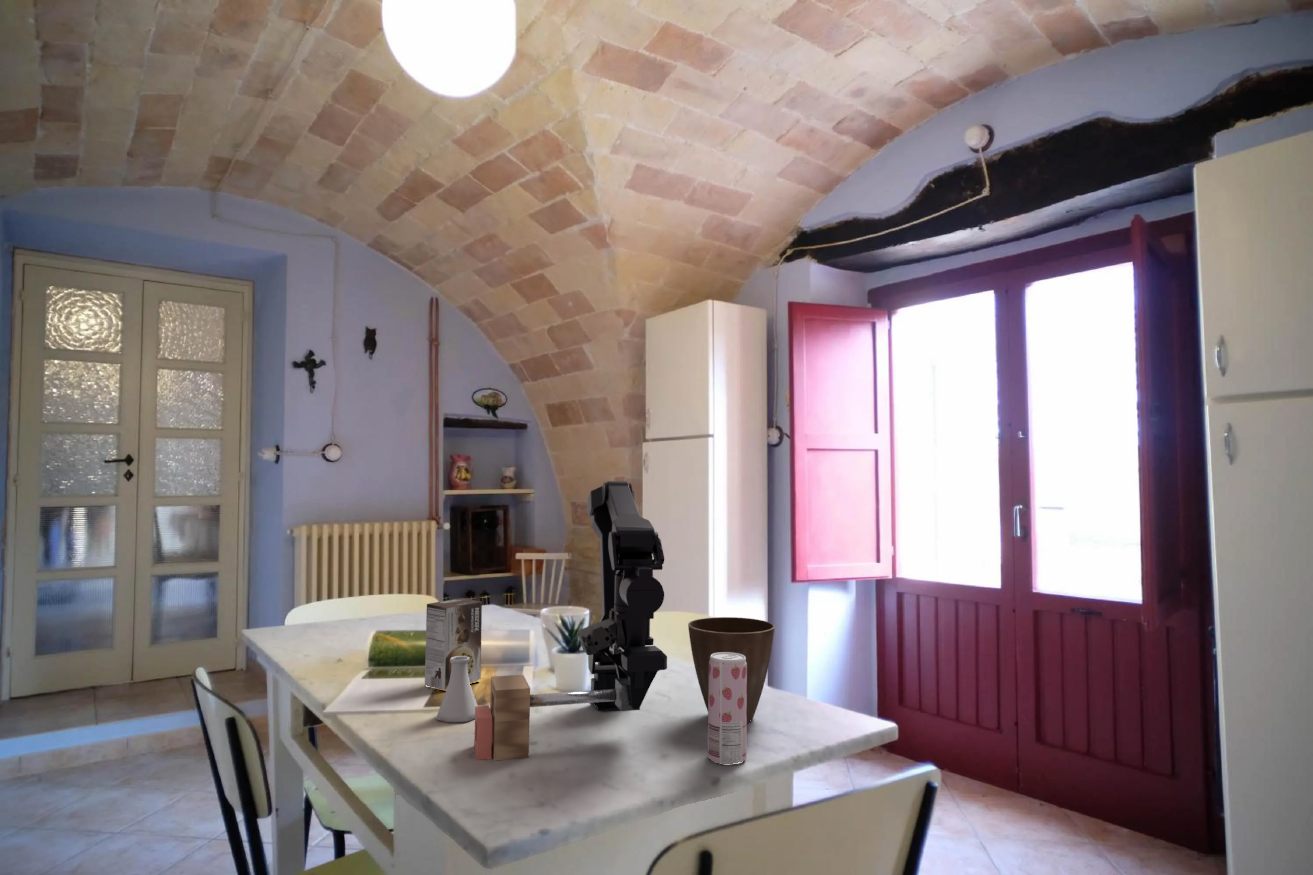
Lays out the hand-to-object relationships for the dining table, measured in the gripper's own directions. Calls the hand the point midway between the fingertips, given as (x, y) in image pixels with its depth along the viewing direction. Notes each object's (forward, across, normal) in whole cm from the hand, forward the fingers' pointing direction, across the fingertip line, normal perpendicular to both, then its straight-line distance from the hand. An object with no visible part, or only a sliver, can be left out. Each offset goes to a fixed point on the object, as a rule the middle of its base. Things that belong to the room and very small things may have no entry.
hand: (630, 703), depth 123 cm
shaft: (+1, 0, -9) cm, 9 cm away
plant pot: (+6, -6, +20) cm, 21 cm away
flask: (+6, -18, -26) cm, 32 cm away
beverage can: (+6, +12, +12) cm, 18 cm away
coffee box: (+6, -39, -26) cm, 47 cm away
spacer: (+6, 0, -23) cm, 23 cm away
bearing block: (+6, 0, -19) cm, 20 cm away
